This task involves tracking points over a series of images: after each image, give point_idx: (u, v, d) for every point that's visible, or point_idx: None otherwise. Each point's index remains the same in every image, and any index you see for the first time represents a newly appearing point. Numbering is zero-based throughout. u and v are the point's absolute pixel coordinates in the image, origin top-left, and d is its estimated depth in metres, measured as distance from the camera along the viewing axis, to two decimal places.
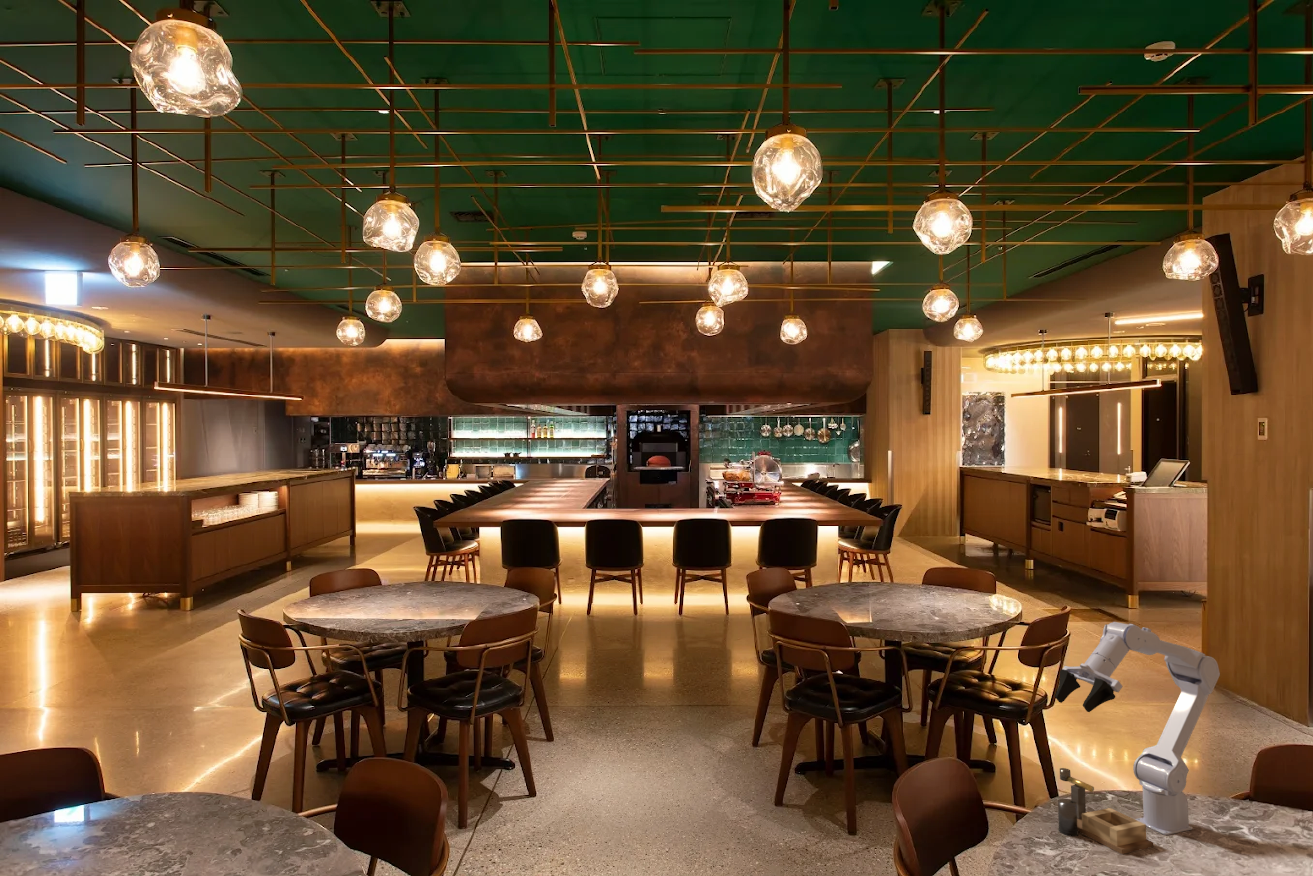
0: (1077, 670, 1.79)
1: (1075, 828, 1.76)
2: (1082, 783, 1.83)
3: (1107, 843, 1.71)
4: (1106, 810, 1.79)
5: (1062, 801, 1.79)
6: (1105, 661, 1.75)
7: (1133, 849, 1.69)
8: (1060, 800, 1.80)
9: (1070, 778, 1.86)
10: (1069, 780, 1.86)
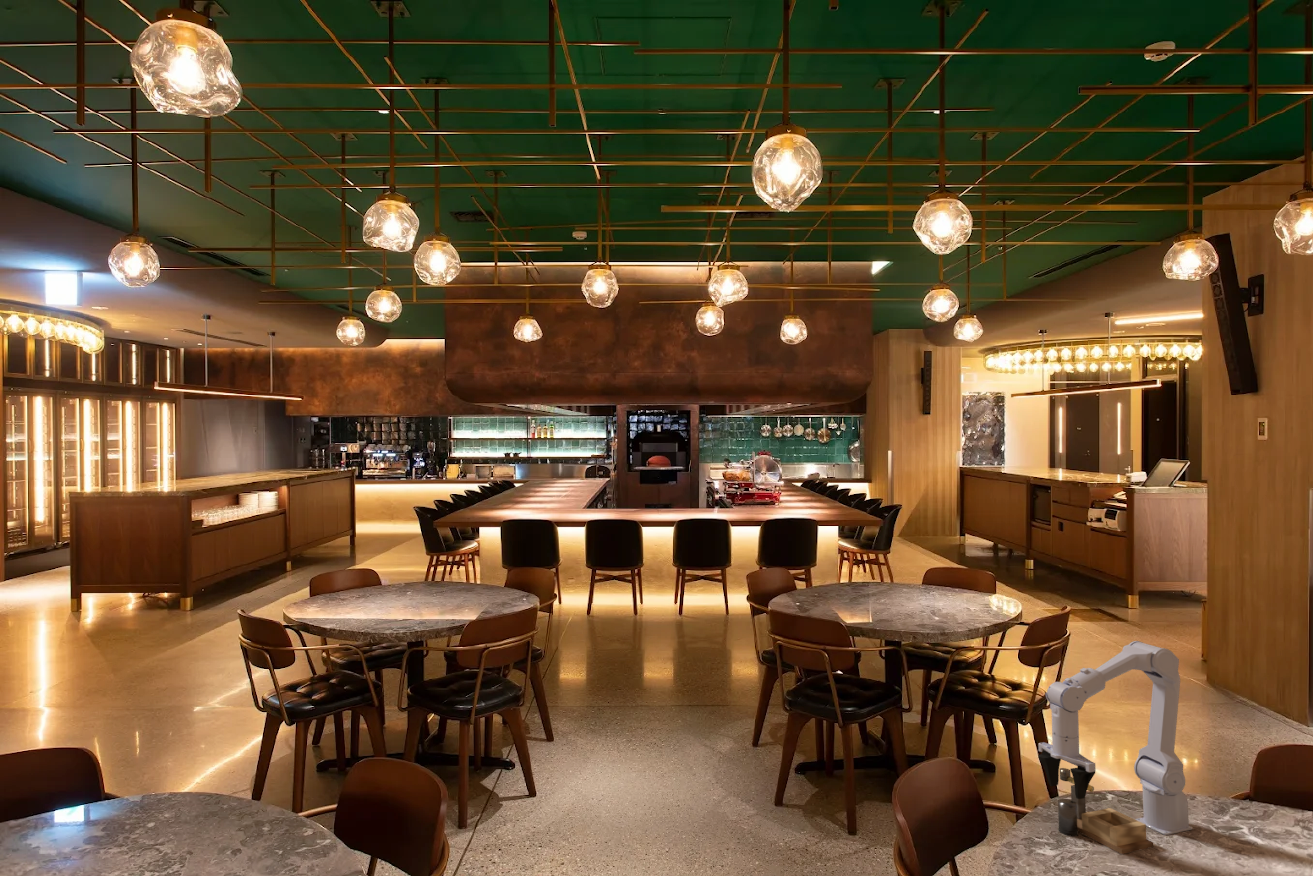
0: None
1: (1075, 828, 1.76)
2: None
3: (1107, 843, 1.71)
4: (1106, 810, 1.79)
5: (1062, 801, 1.79)
6: (1067, 741, 1.77)
7: (1133, 849, 1.69)
8: (1060, 800, 1.80)
9: (1070, 778, 1.86)
10: (1069, 780, 1.86)
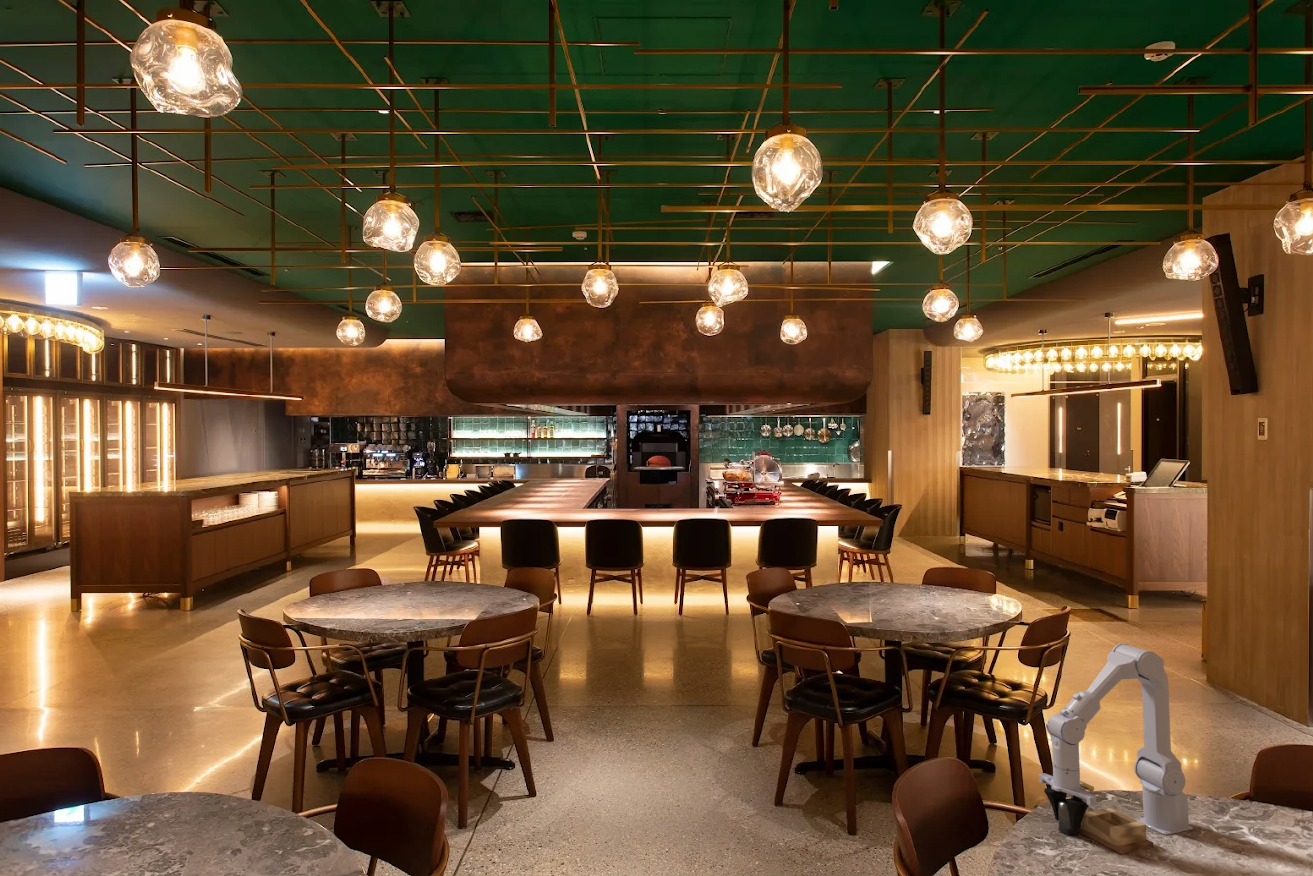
0: None
1: None
2: (1082, 783, 1.83)
3: (1107, 843, 1.71)
4: (1106, 810, 1.79)
5: (1062, 801, 1.79)
6: (1068, 773, 1.76)
7: (1133, 849, 1.69)
8: (1060, 800, 1.80)
9: None
10: None
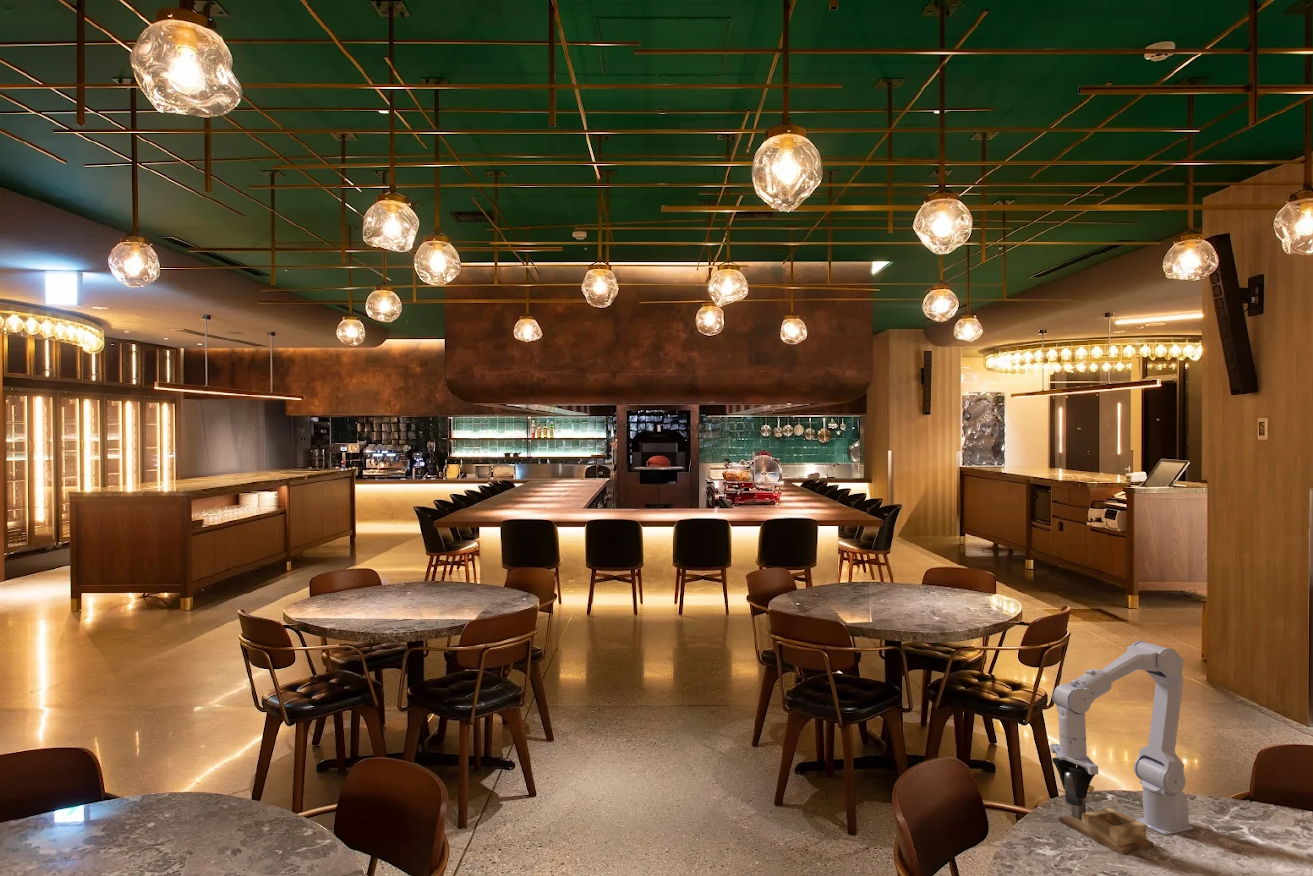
0: None
1: (1080, 798, 1.76)
2: None
3: (1107, 843, 1.71)
4: (1106, 810, 1.79)
5: (1068, 771, 1.79)
6: (1071, 742, 1.76)
7: (1133, 849, 1.69)
8: (1067, 770, 1.80)
9: None
10: None
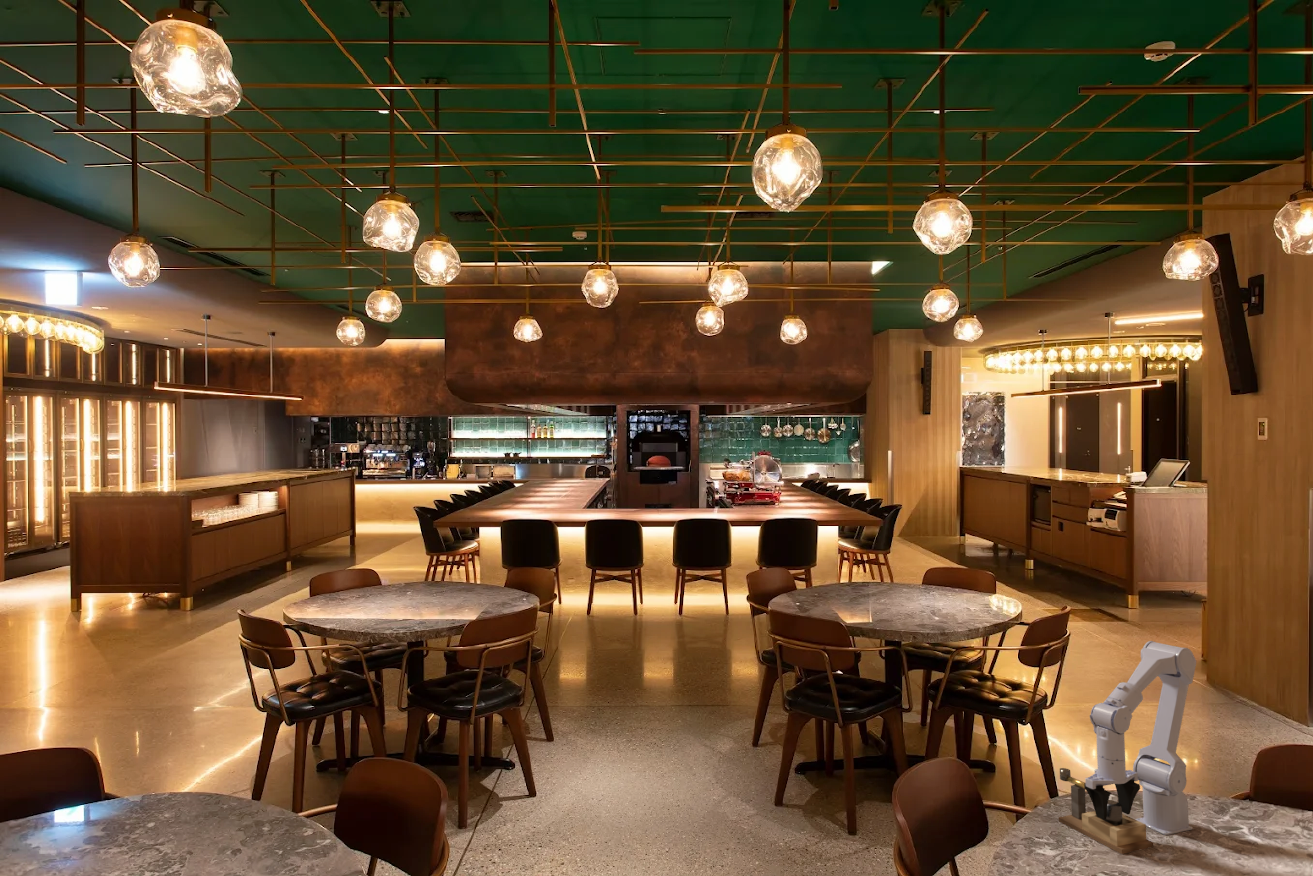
0: None
1: None
2: (1082, 783, 1.83)
3: (1107, 843, 1.71)
4: None
5: (1111, 802, 1.76)
6: None
7: (1133, 849, 1.69)
8: (1114, 801, 1.76)
9: (1070, 778, 1.86)
10: (1069, 780, 1.86)
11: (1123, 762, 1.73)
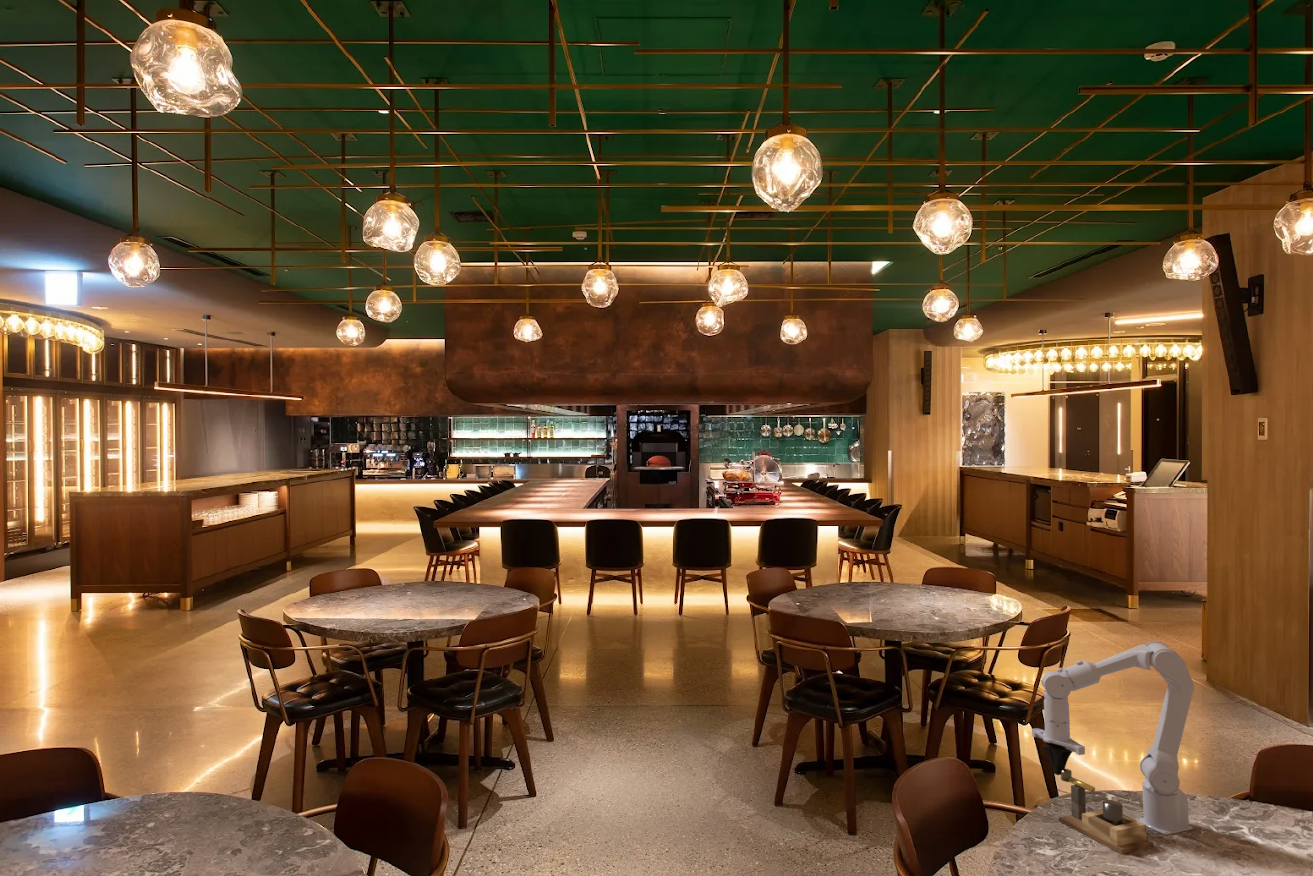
0: None
1: None
2: (1083, 784, 1.82)
3: (1107, 843, 1.71)
4: None
5: (1112, 801, 1.76)
6: (1058, 726, 1.88)
7: (1133, 849, 1.69)
8: (1114, 801, 1.76)
9: (1071, 779, 1.85)
10: (1070, 781, 1.85)
11: None
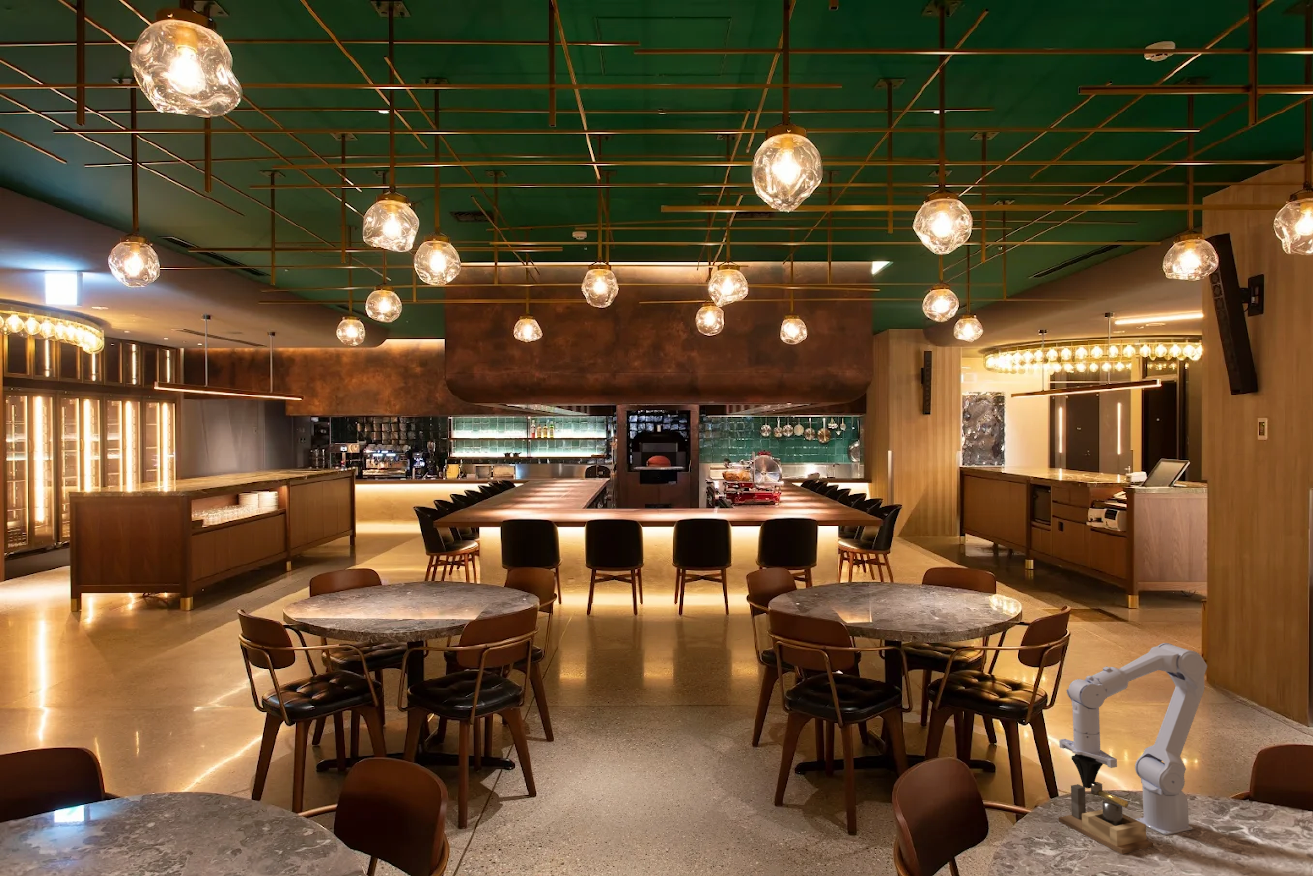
0: None
1: None
2: (1115, 798, 1.74)
3: (1107, 843, 1.71)
4: None
5: (1111, 801, 1.76)
6: (1088, 737, 1.80)
7: (1133, 849, 1.69)
8: None
9: (1102, 793, 1.77)
10: (1101, 794, 1.77)
11: None
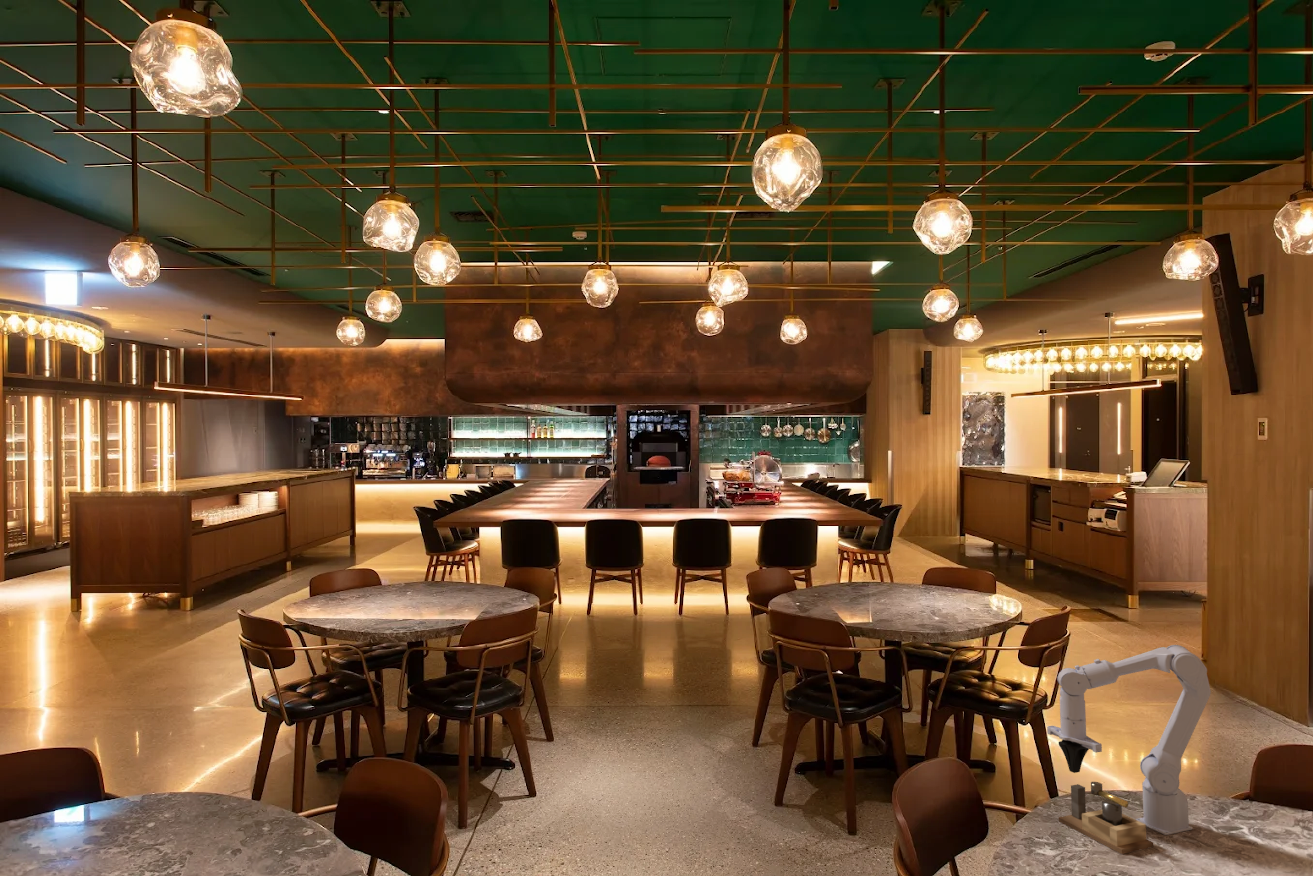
0: None
1: None
2: (1115, 798, 1.74)
3: (1107, 843, 1.71)
4: None
5: (1110, 801, 1.76)
6: (1075, 723, 1.87)
7: (1133, 849, 1.69)
8: None
9: (1102, 793, 1.77)
10: (1101, 794, 1.77)
11: None
